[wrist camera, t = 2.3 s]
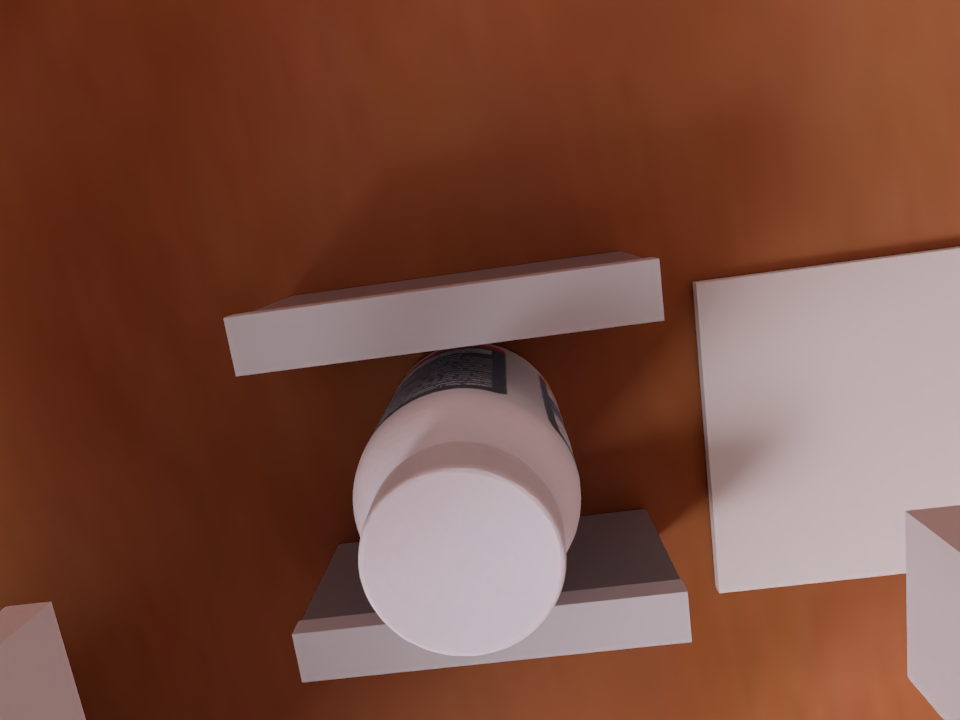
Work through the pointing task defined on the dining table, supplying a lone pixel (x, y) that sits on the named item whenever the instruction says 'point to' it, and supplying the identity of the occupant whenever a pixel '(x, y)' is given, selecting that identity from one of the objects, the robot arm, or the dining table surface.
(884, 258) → the mat
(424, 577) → the pill bottle
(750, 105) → the dining table surface
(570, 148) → the dining table surface
